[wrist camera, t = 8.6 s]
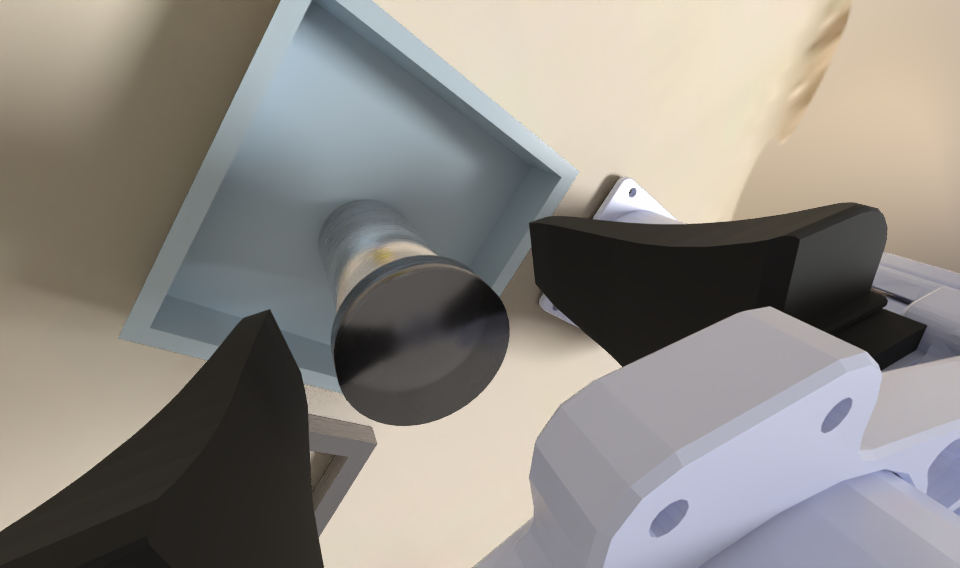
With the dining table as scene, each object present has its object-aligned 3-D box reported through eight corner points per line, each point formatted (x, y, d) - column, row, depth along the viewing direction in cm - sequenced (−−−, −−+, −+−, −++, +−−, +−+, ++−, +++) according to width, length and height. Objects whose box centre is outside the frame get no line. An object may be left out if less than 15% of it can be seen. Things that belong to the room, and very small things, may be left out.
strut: (430, 202, 18) (531, 282, 11) (405, 298, 19) (481, 422, 12) (318, 176, 15) (358, 257, 9) (298, 287, 17) (319, 430, 10)
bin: (540, 159, 20) (579, 171, 17) (407, 374, 21) (425, 413, 19) (299, -31, 13) (306, -54, 11) (142, 295, 15) (117, 338, 13)
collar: (372, 427, 22) (377, 443, 21) (308, 529, 23) (310, 550, 22) (224, 396, 18) (222, 415, 17) (157, 521, 19) (150, 546, 18)
